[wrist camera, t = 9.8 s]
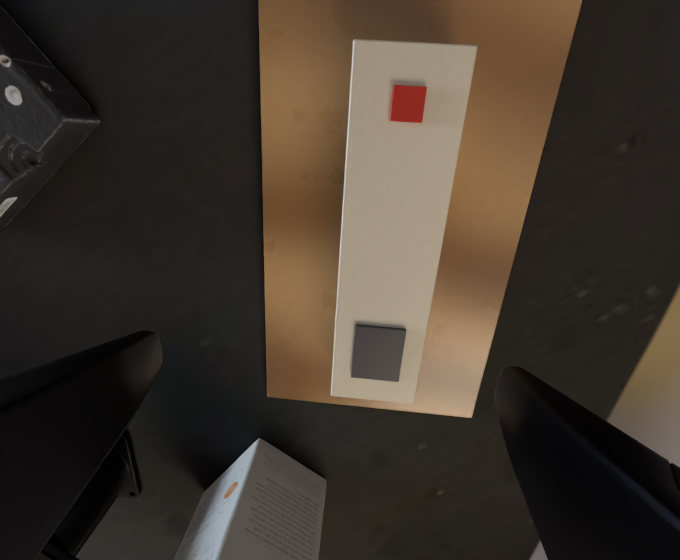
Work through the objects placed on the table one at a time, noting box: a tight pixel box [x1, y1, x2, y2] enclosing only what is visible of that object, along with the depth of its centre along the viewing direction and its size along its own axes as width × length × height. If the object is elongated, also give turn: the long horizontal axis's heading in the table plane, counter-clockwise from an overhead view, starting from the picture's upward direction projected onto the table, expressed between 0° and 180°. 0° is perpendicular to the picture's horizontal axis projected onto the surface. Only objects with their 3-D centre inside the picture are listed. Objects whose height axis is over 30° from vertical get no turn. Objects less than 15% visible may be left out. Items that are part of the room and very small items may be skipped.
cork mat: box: [258, 0, 582, 418], centre depth 18 cm, size 22×13×1 cm, turn 176°
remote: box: [331, 39, 477, 404], centre depth 17 cm, size 16×4×3 cm, turn 176°
